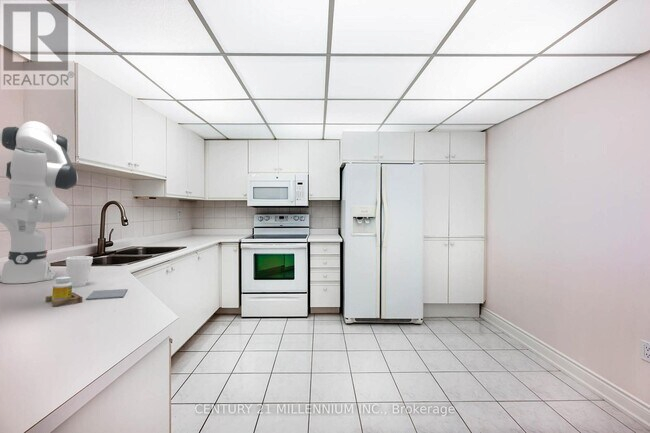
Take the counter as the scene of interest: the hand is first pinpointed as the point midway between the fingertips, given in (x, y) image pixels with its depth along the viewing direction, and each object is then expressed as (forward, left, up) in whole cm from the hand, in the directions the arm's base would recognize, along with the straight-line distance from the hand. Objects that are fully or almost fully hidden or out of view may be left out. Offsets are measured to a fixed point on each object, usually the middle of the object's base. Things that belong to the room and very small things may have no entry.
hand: (25, 232), depth 94 cm
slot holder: (-4, +10, -27) cm, 29 cm away
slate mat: (-11, +23, -27) cm, 37 cm away
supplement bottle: (-4, +10, -27) cm, 29 cm away
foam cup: (-32, +8, -27) cm, 43 cm away
